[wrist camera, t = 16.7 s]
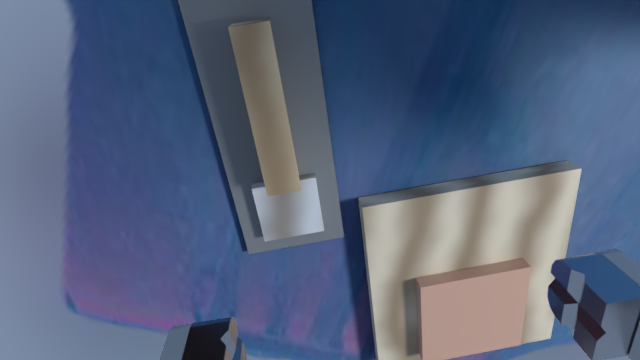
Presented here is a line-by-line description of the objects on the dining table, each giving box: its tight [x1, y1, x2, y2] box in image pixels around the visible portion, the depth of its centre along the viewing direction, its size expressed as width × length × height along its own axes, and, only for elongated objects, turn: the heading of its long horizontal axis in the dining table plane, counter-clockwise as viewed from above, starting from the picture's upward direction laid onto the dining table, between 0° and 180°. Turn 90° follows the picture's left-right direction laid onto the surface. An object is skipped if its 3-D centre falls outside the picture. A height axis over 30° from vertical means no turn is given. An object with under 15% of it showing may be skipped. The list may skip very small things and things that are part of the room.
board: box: [358, 160, 582, 360], centre depth 45 cm, size 22×24×2 cm
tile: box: [416, 258, 531, 360], centre depth 45 cm, size 12×2×12 cm
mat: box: [178, 0, 344, 254], centre depth 35 cm, size 10×26×1 cm, turn 8°
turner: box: [228, 18, 324, 242], centre depth 34 cm, size 6×20×3 cm, turn 8°
